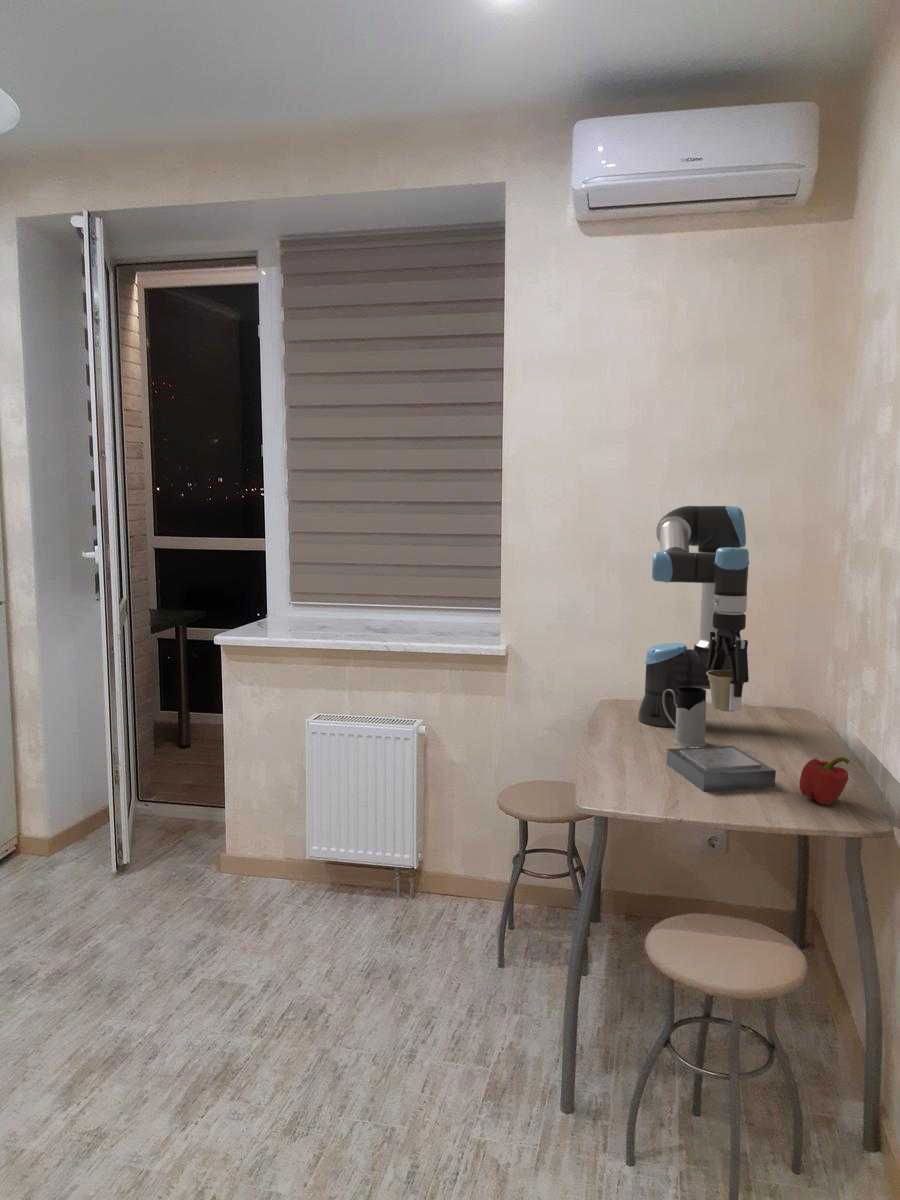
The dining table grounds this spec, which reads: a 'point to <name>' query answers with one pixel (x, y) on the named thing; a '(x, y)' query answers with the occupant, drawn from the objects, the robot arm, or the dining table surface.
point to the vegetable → (823, 780)
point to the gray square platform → (720, 768)
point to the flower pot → (720, 688)
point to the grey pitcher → (689, 716)
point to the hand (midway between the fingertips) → (725, 705)
